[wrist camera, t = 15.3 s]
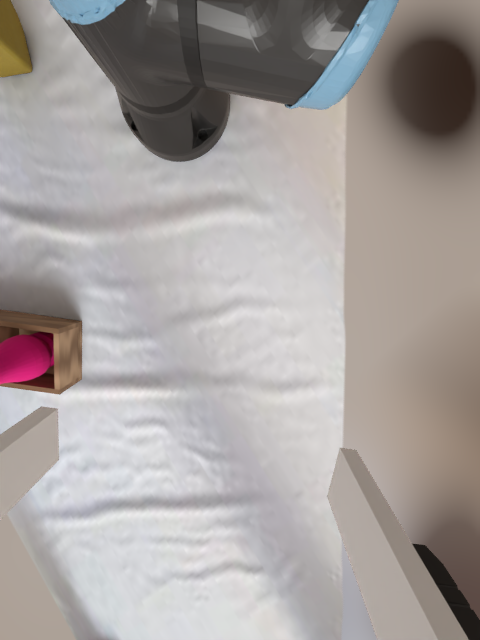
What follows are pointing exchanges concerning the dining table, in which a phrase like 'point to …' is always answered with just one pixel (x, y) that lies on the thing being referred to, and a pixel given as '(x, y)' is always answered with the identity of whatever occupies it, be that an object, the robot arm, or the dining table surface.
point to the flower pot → (12, 43)
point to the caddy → (65, 349)
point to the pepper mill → (26, 356)
